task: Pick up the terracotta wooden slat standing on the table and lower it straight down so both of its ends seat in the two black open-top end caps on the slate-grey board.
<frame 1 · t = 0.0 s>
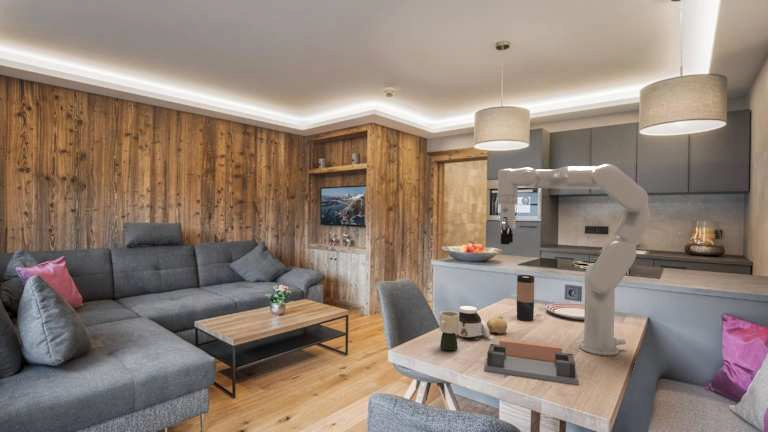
hand: (506, 243, 157), 37 cm above the table, tool pointing down, fingers open, 9 cm apart
dinner plate: (576, 315, 192), on the table
character mug: (448, 349, 143), on the table
end caps: (529, 359, 124), on the board, point 4 cm above the table
onion: (496, 333, 163), on the table
board: (529, 370, 124), on the table
slat: (529, 357, 136), on the table
spread jar: (472, 337, 157), on the table
travel mug: (525, 319, 183), on the table
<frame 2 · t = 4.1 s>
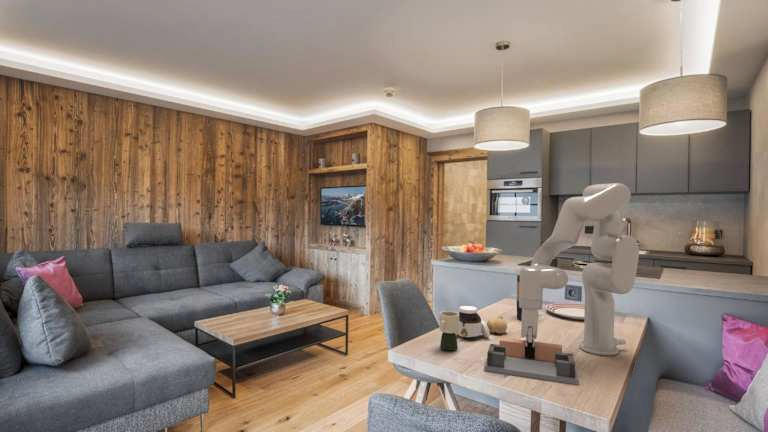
hand: (529, 355, 136), 0 cm above the table, tool pointing down, fingers closed on slat, 3 cm apart
slat: (529, 357, 136), on the table, touching gripper
everything else where it was.
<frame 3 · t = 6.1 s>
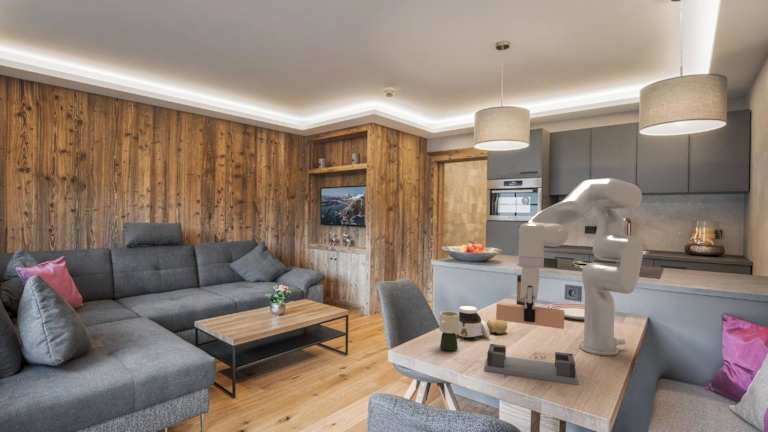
hand: (529, 319, 126), 16 cm above the table, tool pointing down, fingers closed on slat, 3 cm apart
slat: (529, 322, 126), point 15 cm above the table, touching gripper
everything else where it was.
when the fingers open (3 cm above the table, at t = 8.4 s): slat stays where it is, resting on board.
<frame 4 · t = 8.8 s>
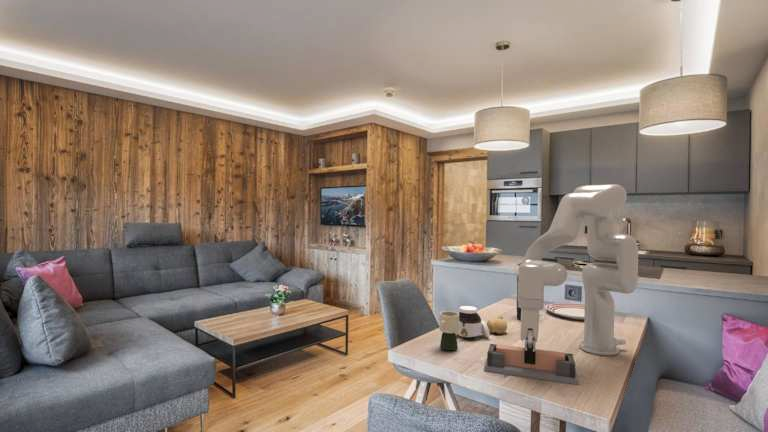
hand: (529, 358, 124), 4 cm above the table, tool pointing down, fingers open, 7 cm apart
slat: (529, 366, 124), point 1 cm above the table, touching board
everything else where it was.
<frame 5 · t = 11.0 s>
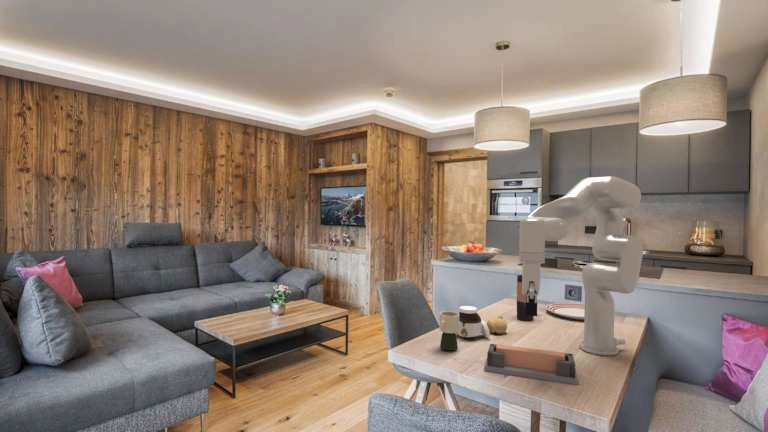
hand: (531, 311, 125), 18 cm above the table, tool pointing down, fingers open, 9 cm apart
nothing on the table moved.
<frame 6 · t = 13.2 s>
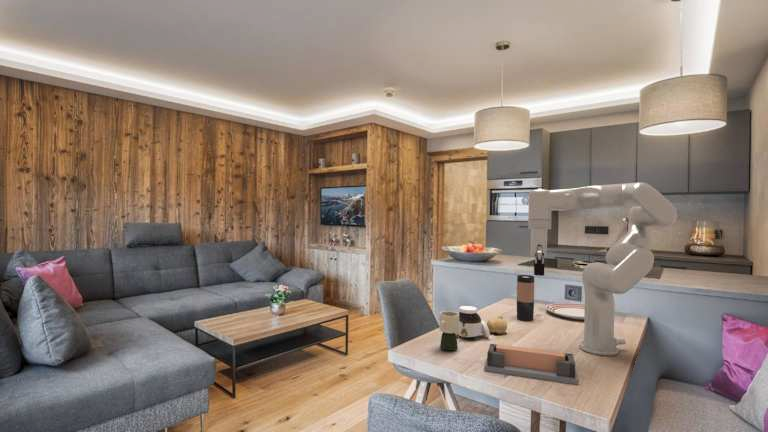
hand: (538, 273, 139), 28 cm above the table, tool pointing down, fingers open, 9 cm apart
nothing on the table moved.
at the end: slat 0.1 cm off-centre on the board, point 1.5 cm above the board's base; slat tilted 0°; the gripper is holding nothing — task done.
